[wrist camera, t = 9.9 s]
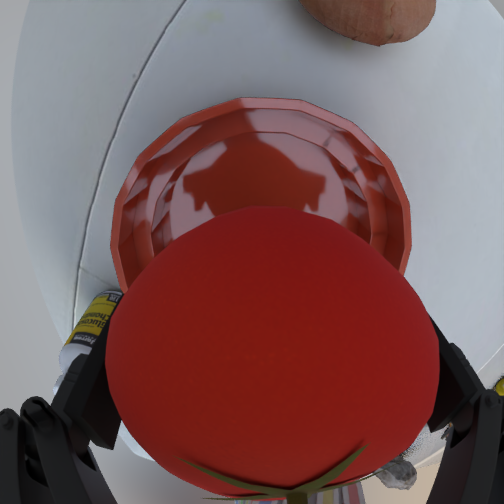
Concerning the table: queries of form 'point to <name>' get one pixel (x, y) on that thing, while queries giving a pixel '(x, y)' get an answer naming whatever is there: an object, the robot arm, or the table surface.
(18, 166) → the table surface
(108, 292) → the pill bottle
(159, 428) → the tomato
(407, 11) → the onion
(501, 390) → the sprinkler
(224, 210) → the red bowl
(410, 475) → the rock
